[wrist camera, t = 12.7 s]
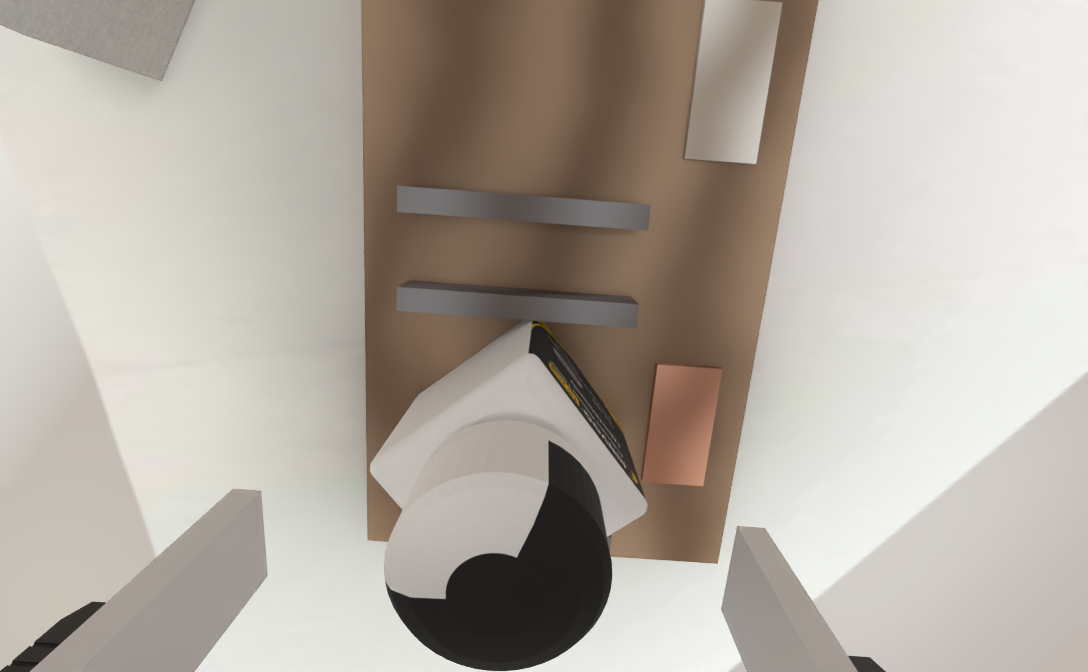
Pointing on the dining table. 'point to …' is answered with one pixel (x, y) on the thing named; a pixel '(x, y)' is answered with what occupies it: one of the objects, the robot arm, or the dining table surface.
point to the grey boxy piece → (104, 28)
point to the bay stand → (582, 217)
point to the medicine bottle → (506, 505)
